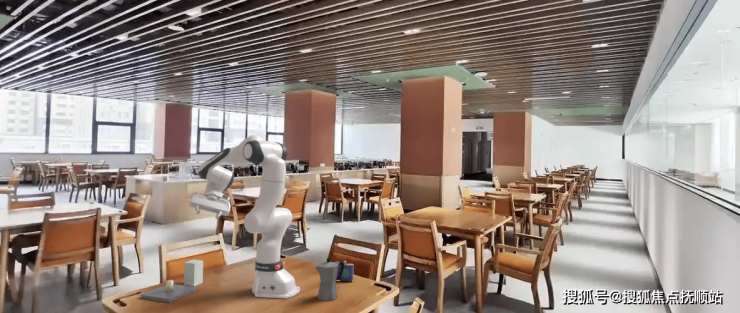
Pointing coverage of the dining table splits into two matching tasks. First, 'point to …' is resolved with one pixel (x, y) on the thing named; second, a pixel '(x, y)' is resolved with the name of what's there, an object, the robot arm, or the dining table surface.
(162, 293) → the board
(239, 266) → the dining table surface
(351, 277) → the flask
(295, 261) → the dining table surface
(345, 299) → the dining table surface
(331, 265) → the coffeepot
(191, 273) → the cover
